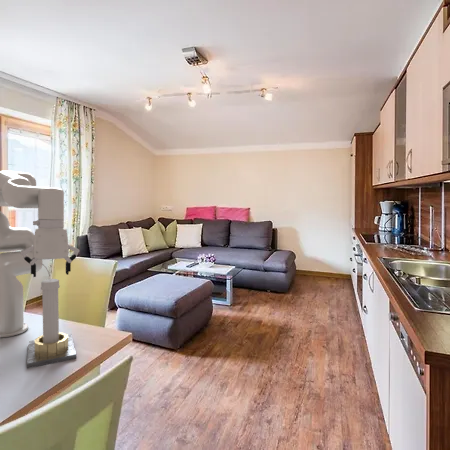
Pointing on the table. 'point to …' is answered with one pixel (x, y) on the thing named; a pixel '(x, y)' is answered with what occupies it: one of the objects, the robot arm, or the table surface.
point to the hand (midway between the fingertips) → (51, 274)
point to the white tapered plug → (50, 310)
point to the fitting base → (50, 351)
